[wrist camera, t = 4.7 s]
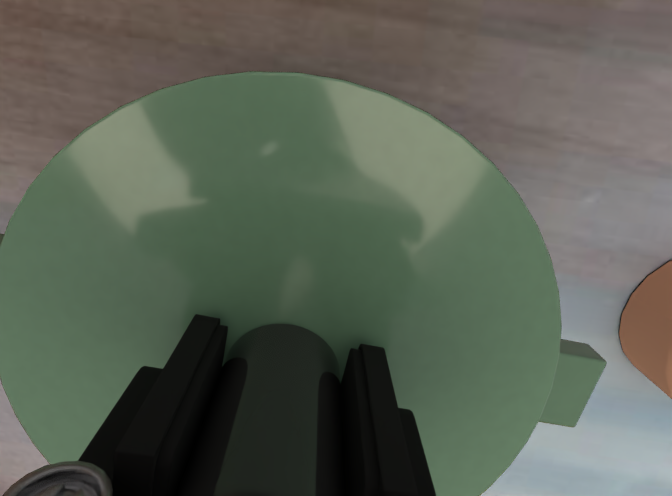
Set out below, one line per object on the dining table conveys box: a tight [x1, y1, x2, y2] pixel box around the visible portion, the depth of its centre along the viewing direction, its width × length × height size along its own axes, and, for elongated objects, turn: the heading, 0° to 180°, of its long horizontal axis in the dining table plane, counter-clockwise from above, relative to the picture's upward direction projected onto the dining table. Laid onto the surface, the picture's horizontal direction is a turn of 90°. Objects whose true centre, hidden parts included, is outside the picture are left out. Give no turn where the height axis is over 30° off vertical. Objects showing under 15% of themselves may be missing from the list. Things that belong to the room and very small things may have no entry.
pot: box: [0, 234, 606, 427], centre depth 16 cm, size 13×18×10 cm
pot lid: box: [0, 71, 562, 496], centre depth 9 cm, size 14×14×6 cm
